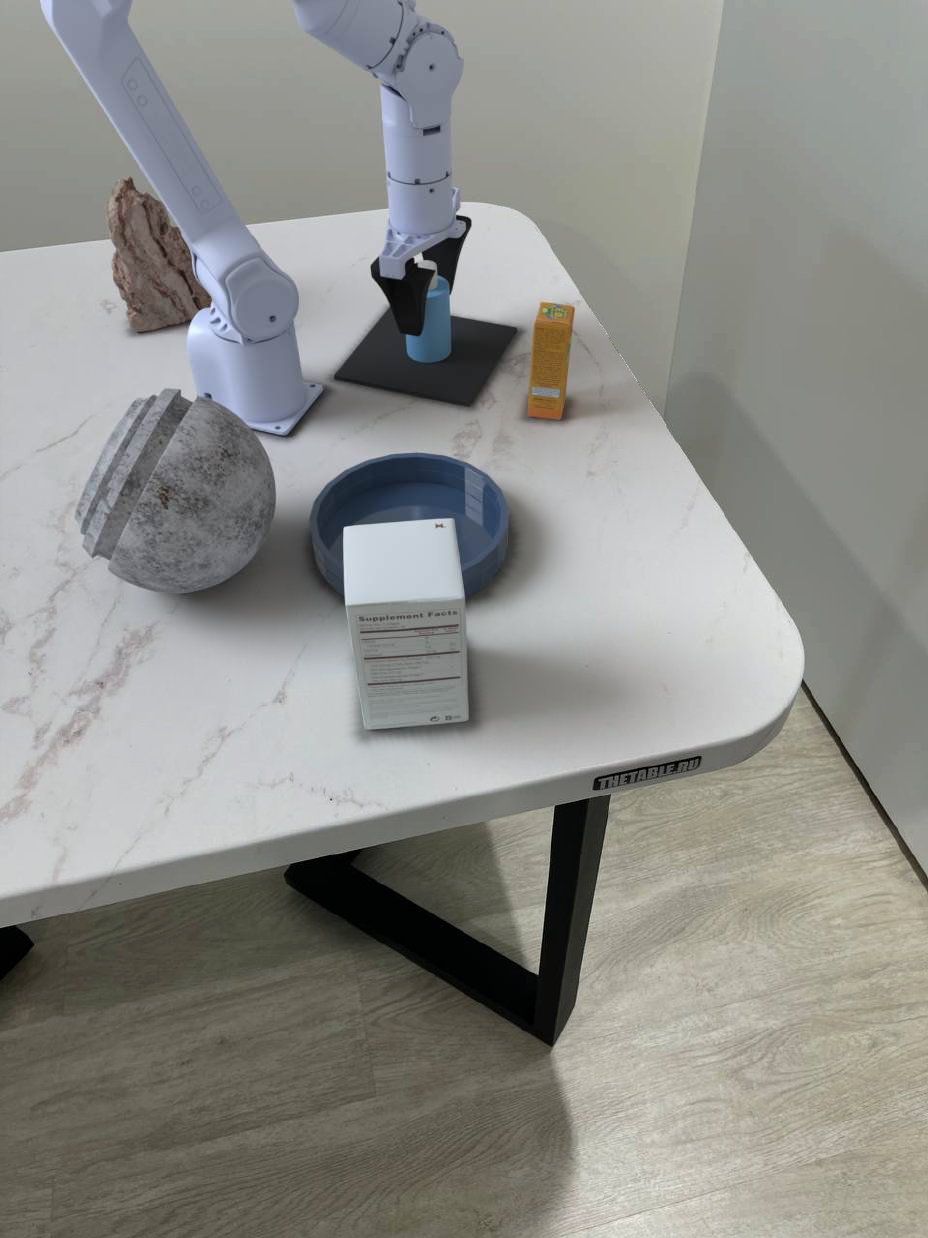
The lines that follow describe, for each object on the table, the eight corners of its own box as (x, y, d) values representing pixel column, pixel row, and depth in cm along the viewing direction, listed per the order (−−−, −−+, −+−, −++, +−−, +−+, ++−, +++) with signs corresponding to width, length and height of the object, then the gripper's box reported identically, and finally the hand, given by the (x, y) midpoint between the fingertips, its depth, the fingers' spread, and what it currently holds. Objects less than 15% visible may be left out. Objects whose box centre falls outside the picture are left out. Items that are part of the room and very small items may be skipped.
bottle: (400, 358, 100) (393, 272, 93) (417, 335, 102) (412, 250, 96) (441, 366, 98) (438, 280, 92) (457, 343, 101) (455, 258, 95)
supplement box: (563, 421, 93) (570, 323, 85) (526, 417, 93) (529, 320, 86) (568, 400, 95) (575, 303, 88) (532, 397, 95) (535, 300, 88)
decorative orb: (145, 497, 86) (96, 342, 75) (310, 513, 85) (283, 356, 74) (72, 623, 76) (3, 465, 65) (257, 644, 75) (217, 485, 64)
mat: (334, 379, 98) (333, 375, 98) (391, 307, 107) (391, 304, 107) (469, 406, 95) (469, 403, 94) (517, 330, 103) (517, 327, 103)
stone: (94, 202, 93) (204, 191, 95) (87, 163, 97) (192, 153, 100) (125, 337, 104) (223, 324, 107) (117, 296, 109) (211, 285, 111)
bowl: (280, 583, 79) (274, 555, 77) (363, 464, 89) (360, 436, 87) (467, 633, 75) (466, 605, 73) (533, 502, 85) (534, 474, 83)
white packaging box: (360, 652, 74) (341, 522, 65) (461, 644, 74) (457, 513, 65) (361, 733, 69) (342, 605, 60) (470, 725, 69) (467, 595, 60)
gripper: (430, 213, 82) (436, 359, 92) (490, 143, 91) (490, 283, 101) (351, 201, 84) (365, 345, 94) (418, 133, 93) (424, 272, 103)
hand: (426, 312), depth 97 cm, fingers open, 7 cm apart
